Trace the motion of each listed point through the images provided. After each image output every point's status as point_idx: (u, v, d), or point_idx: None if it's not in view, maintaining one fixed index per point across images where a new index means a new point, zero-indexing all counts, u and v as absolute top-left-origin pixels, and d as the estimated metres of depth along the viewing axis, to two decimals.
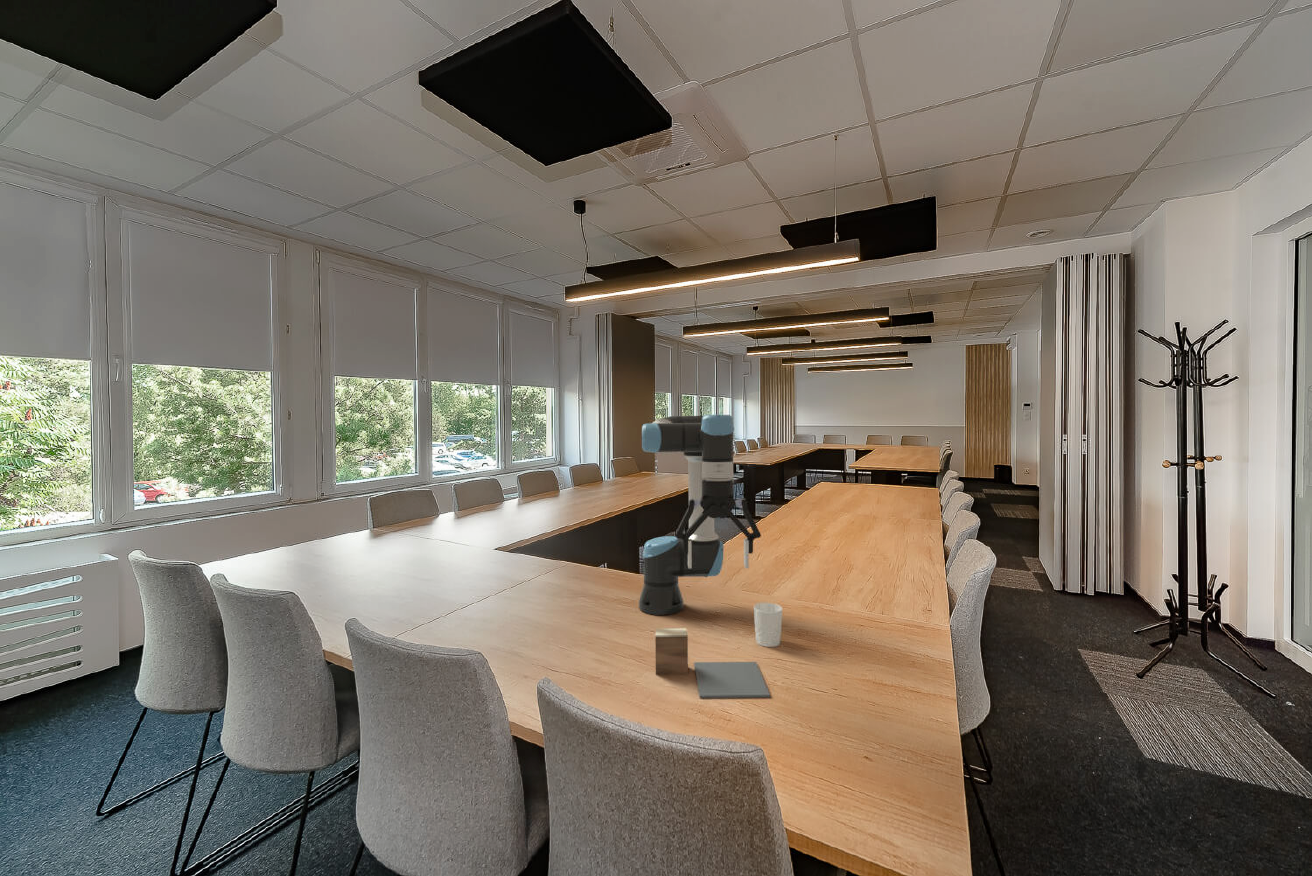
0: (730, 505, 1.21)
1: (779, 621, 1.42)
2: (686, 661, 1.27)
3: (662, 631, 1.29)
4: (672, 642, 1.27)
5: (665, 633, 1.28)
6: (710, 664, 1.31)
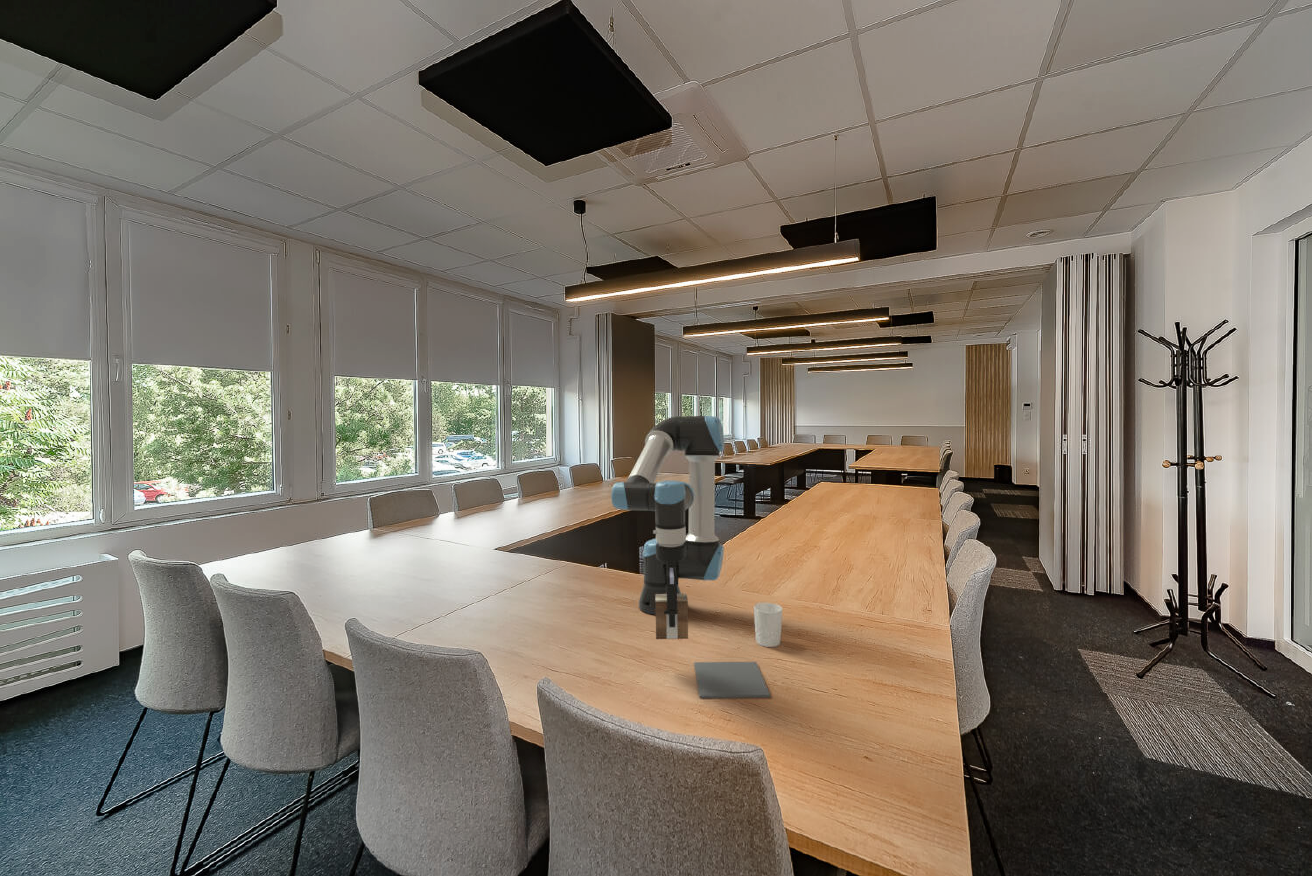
0: (666, 570, 1.26)
1: (779, 621, 1.42)
2: (686, 625, 1.27)
3: (662, 597, 1.29)
4: None
5: (665, 598, 1.28)
6: (710, 664, 1.31)
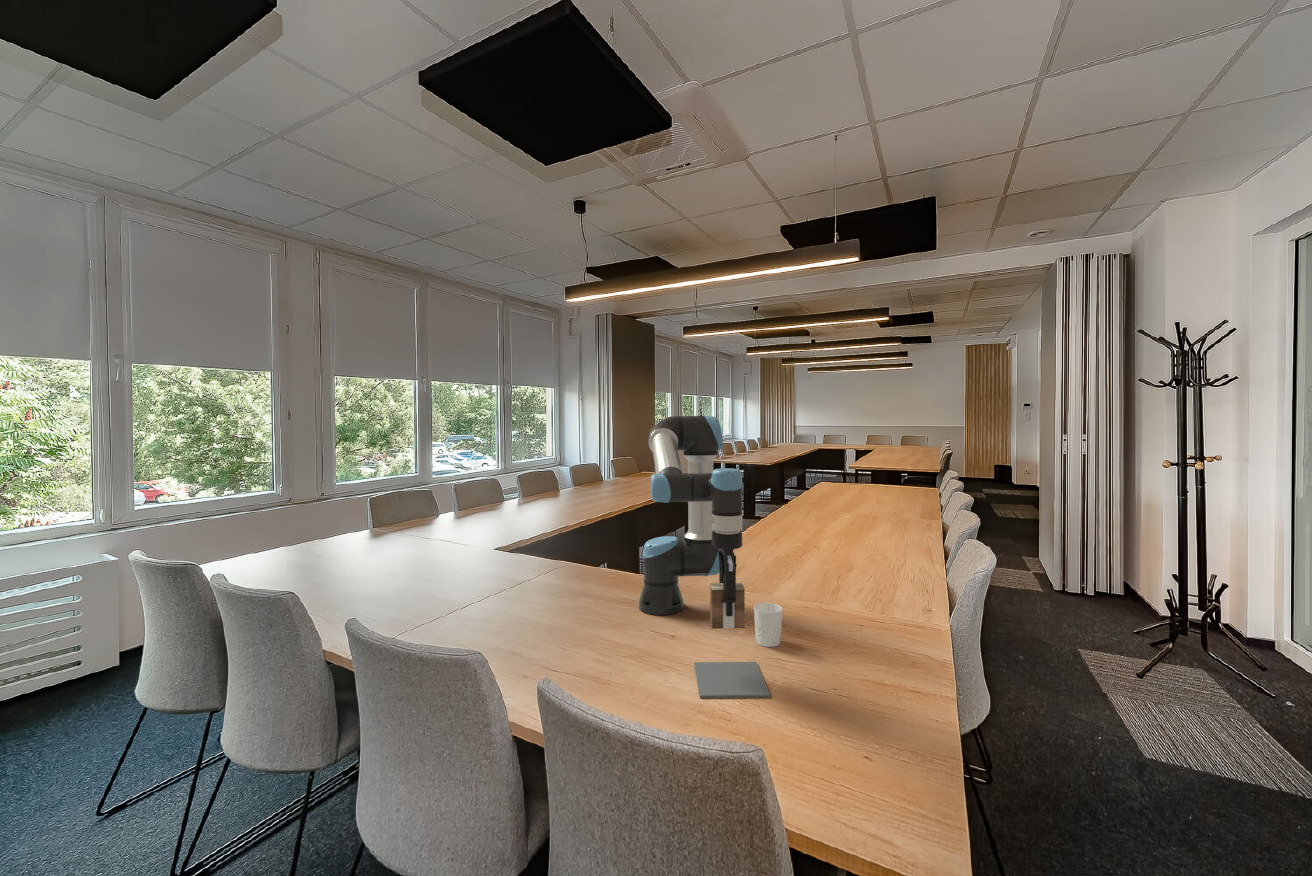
0: (724, 558, 1.24)
1: (779, 621, 1.42)
2: (743, 615, 1.26)
3: (717, 585, 1.27)
4: None
5: (721, 586, 1.26)
6: (710, 664, 1.31)
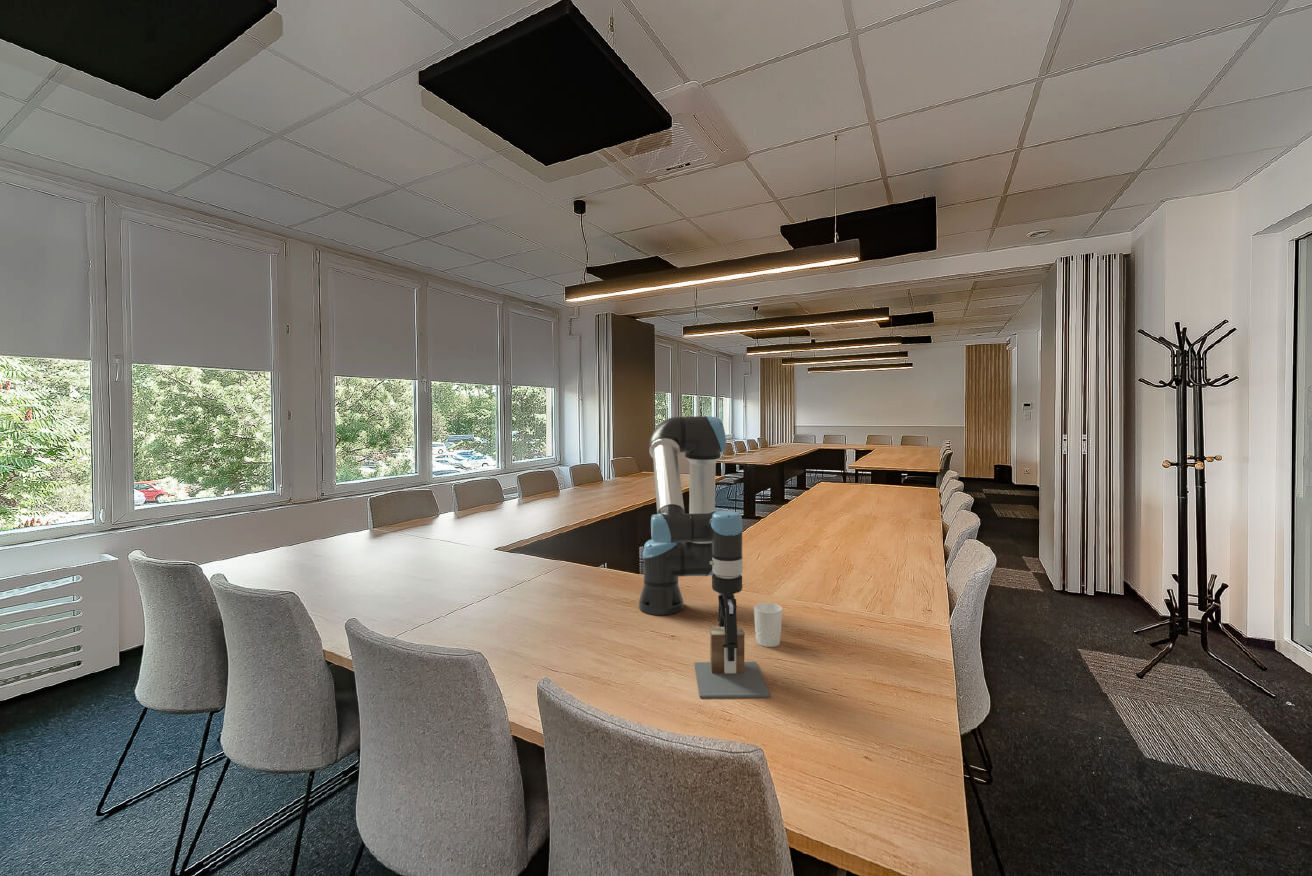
0: (724, 602, 1.25)
1: (779, 621, 1.42)
2: (743, 660, 1.26)
3: (717, 630, 1.28)
4: None
5: (721, 631, 1.27)
6: None
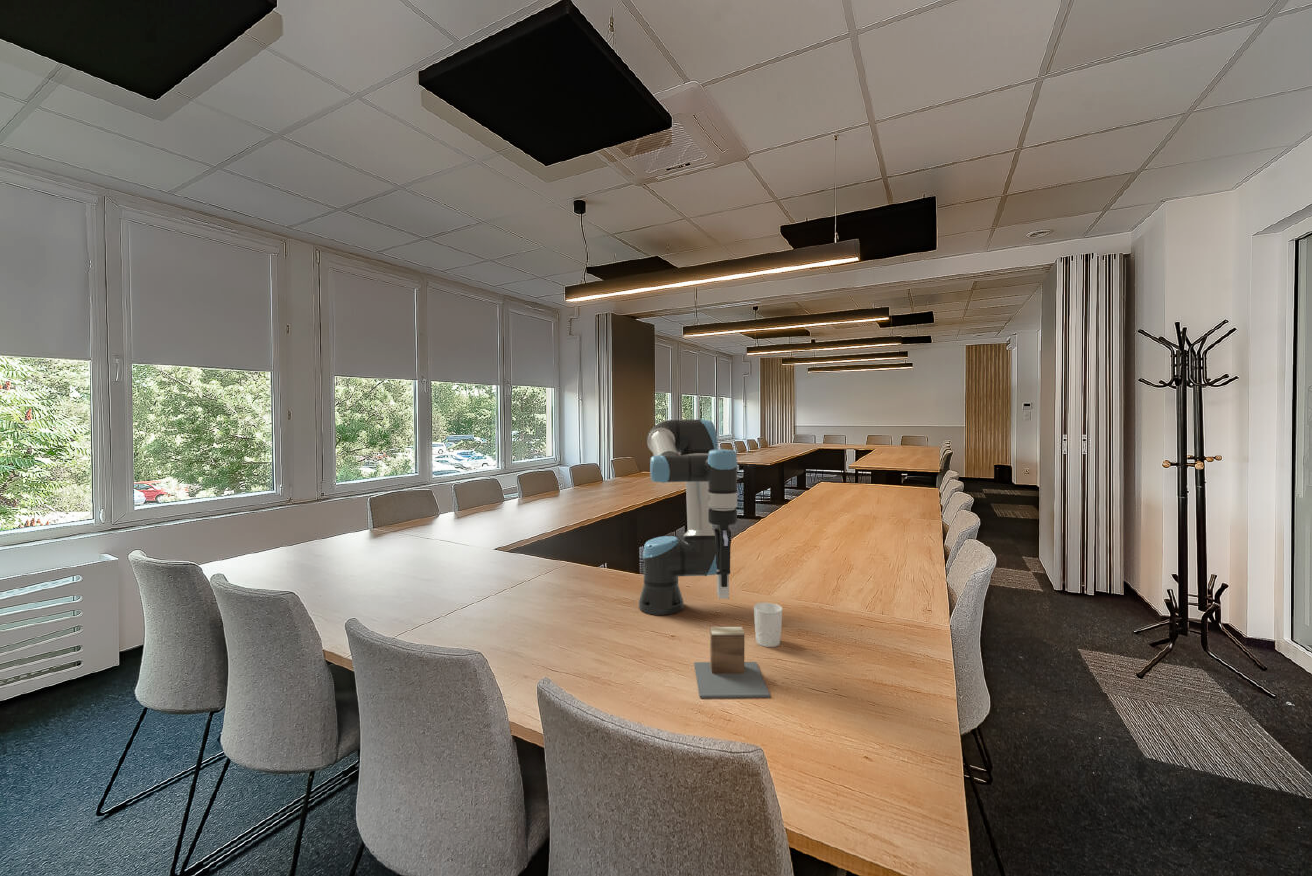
0: (719, 533, 1.32)
1: (779, 621, 1.42)
2: (743, 660, 1.26)
3: (717, 630, 1.28)
4: (729, 640, 1.26)
5: (721, 631, 1.27)
6: None
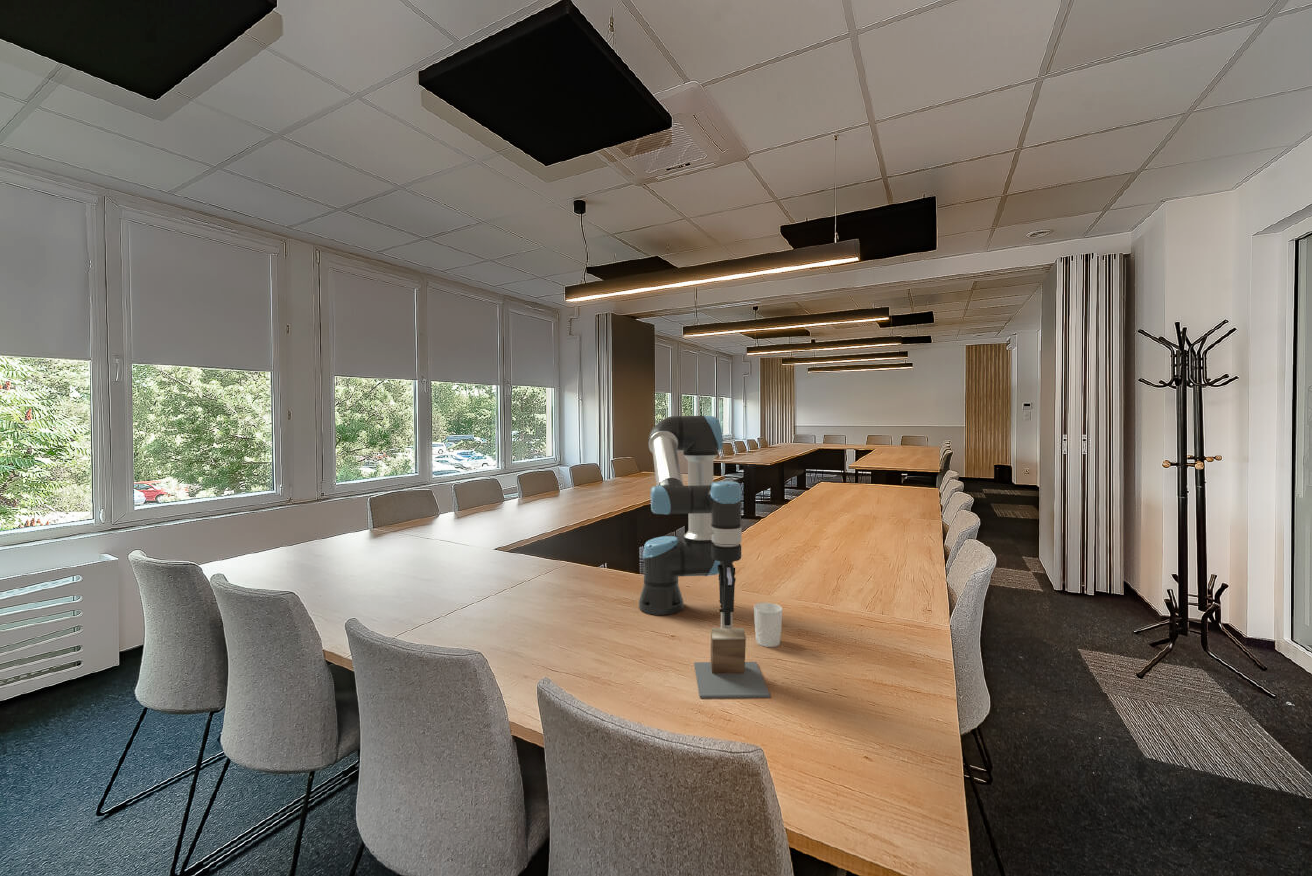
0: (723, 570, 1.26)
1: (779, 621, 1.42)
2: (743, 661, 1.25)
3: (718, 633, 1.26)
4: (730, 644, 1.24)
5: (722, 635, 1.25)
6: (710, 664, 1.31)
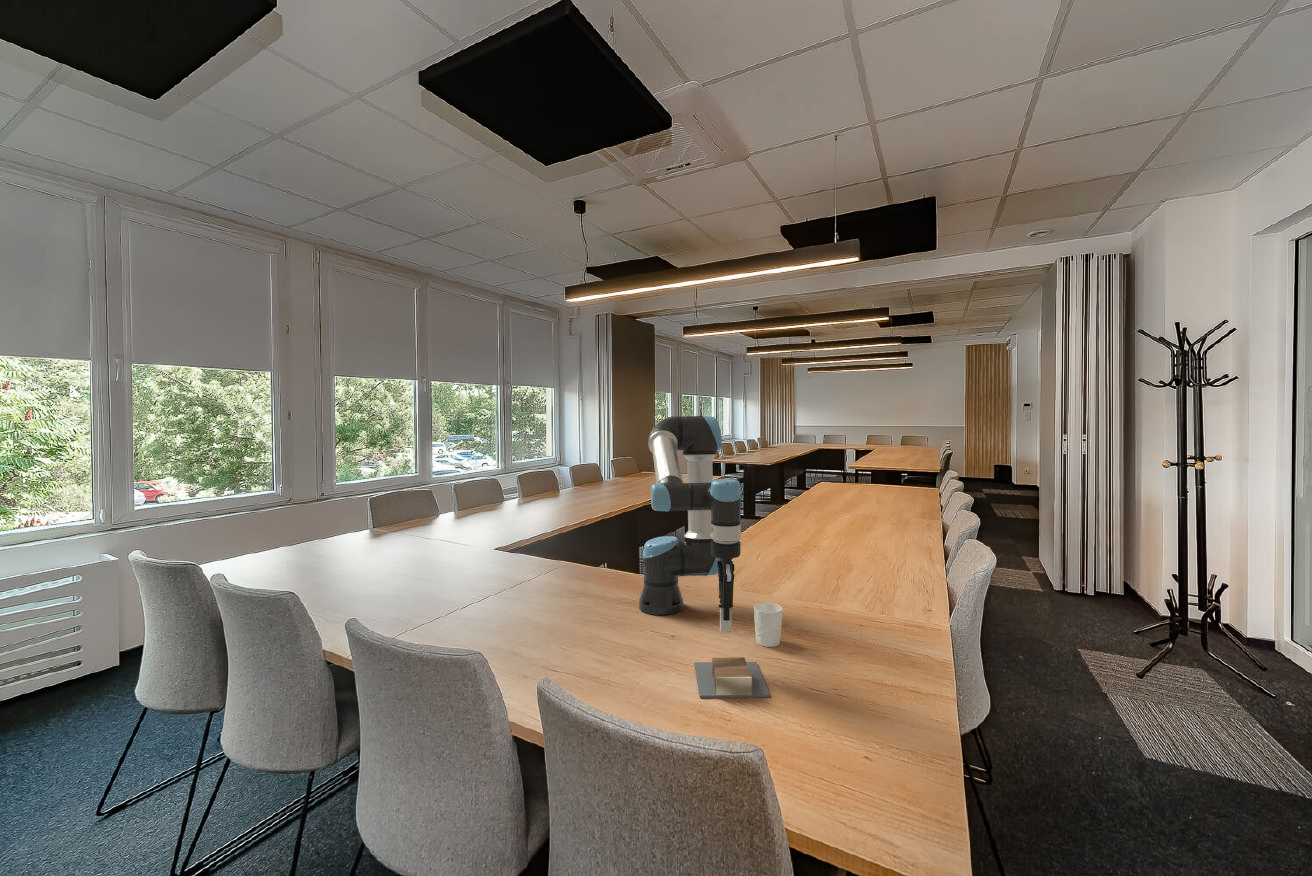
0: (722, 566, 1.28)
1: (779, 621, 1.42)
2: None
3: (724, 686, 1.16)
4: None
5: (727, 691, 1.16)
6: (710, 664, 1.31)
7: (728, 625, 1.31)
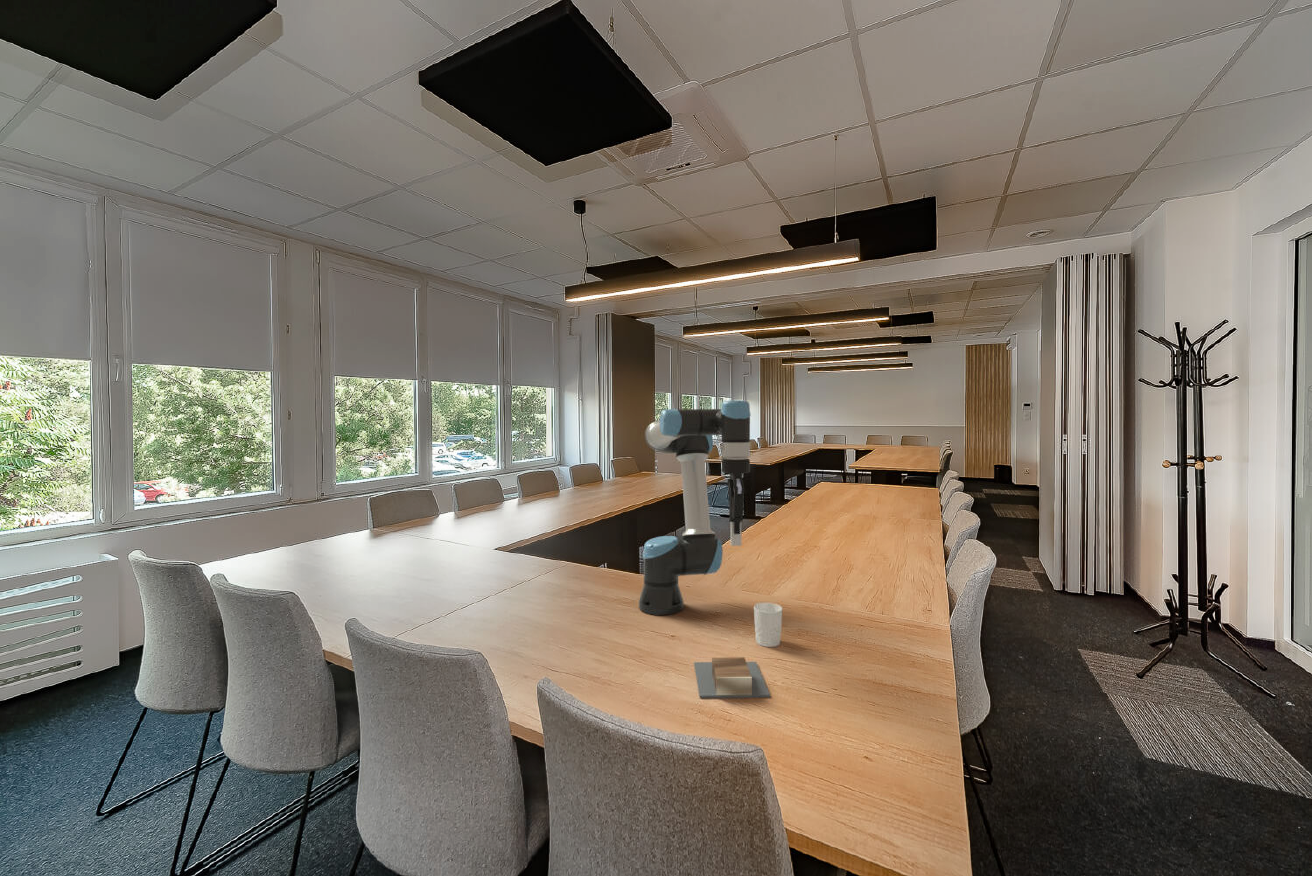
0: (733, 481, 1.35)
1: (779, 621, 1.42)
2: None
3: (724, 686, 1.16)
4: None
5: (727, 691, 1.16)
6: (710, 664, 1.31)
7: (738, 539, 1.37)
